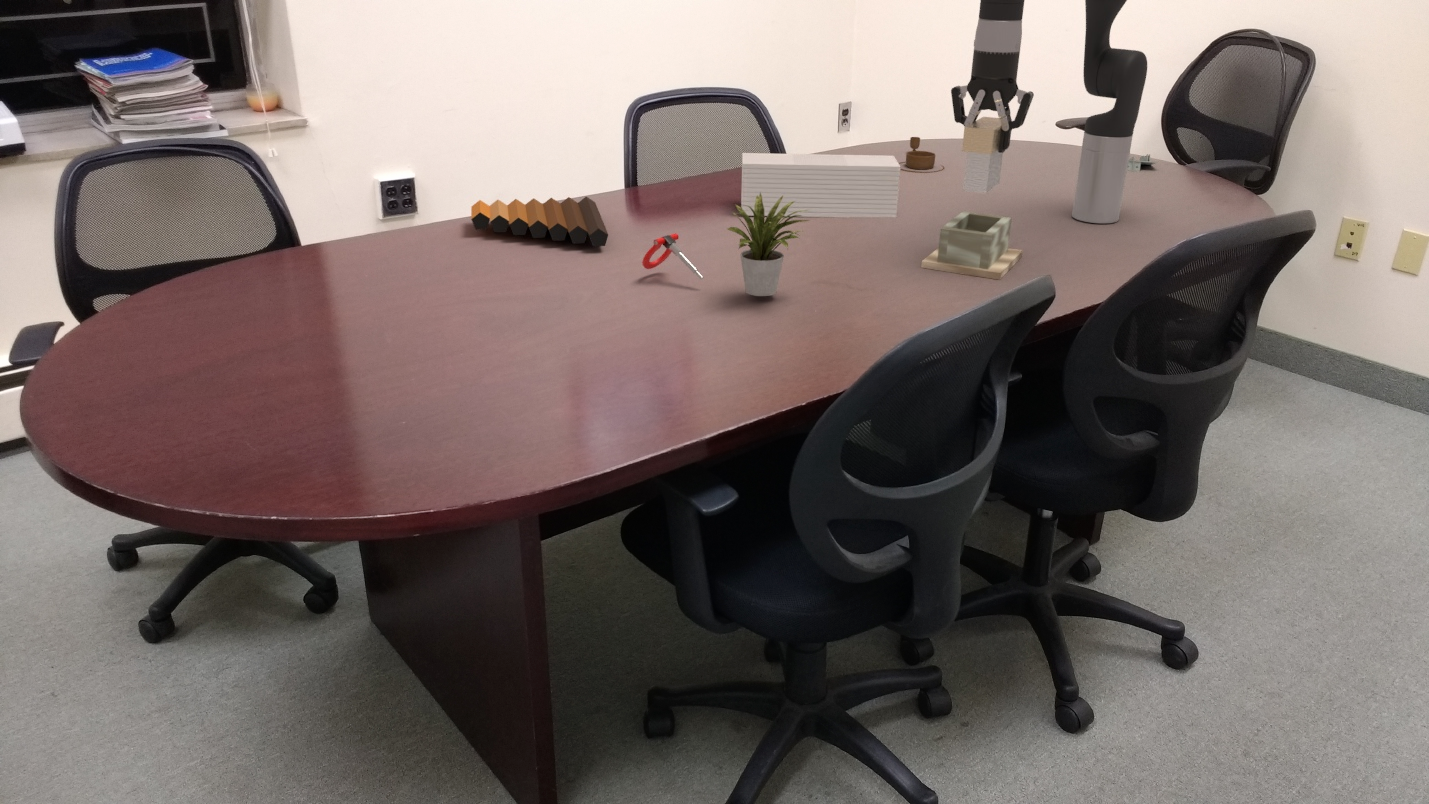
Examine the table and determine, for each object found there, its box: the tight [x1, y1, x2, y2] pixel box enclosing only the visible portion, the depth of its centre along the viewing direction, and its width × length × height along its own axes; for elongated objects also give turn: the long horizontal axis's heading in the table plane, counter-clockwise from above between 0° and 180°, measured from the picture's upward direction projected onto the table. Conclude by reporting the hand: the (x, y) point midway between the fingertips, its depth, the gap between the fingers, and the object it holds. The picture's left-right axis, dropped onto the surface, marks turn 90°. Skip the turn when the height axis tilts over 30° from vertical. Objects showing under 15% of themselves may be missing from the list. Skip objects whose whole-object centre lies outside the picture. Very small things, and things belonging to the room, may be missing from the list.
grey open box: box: [920, 210, 1023, 281], centre depth 197 cm, size 16×14×7 cm
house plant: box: [727, 193, 810, 297], centre depth 177 cm, size 14×14×16 cm
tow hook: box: [641, 233, 704, 280], centre depth 189 cm, size 7×10×7 cm
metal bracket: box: [1127, 154, 1158, 173], centre depth 269 cm, size 14×6×15 cm
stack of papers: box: [740, 152, 902, 218], centre depth 230 cm, size 32×11×11 cm, turn 89°
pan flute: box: [470, 196, 609, 247], centre depth 213 cm, size 25×3×25 cm
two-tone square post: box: [961, 116, 1013, 194], centre depth 191 cm, size 12×5×11 cm, turn 152°
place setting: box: [898, 136, 945, 174], centre depth 270 cm, size 18×20×6 cm
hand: (985, 149), depth 190 cm, fingers closed on two-tone square post, 5 cm apart
